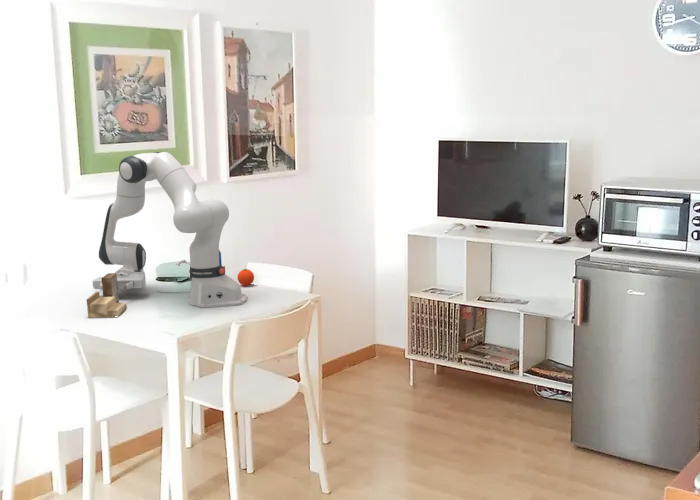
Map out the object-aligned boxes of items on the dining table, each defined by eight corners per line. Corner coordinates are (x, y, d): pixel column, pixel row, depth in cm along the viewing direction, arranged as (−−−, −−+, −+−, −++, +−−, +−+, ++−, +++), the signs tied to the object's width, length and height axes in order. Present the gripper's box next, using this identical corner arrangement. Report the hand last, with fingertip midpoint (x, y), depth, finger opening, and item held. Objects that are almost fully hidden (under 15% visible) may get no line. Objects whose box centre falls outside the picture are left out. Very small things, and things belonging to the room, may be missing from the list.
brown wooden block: (119, 303, 311) (116, 273, 309) (112, 308, 303) (110, 277, 301) (110, 303, 311) (108, 273, 309) (104, 308, 303) (101, 278, 301)
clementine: (238, 283, 338) (237, 267, 337) (254, 282, 339) (253, 266, 338) (237, 287, 330) (236, 271, 329) (254, 287, 331) (253, 270, 330)
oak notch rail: (126, 309, 302) (125, 291, 300) (118, 317, 291) (116, 298, 290) (98, 309, 302) (96, 291, 301) (88, 317, 291) (86, 299, 290)
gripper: (98, 272, 323) (86, 280, 309) (148, 270, 323) (138, 278, 309) (99, 287, 324) (87, 295, 311) (149, 286, 324) (139, 294, 310)
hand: (113, 287), depth 310 cm, fingers open, 8 cm apart
